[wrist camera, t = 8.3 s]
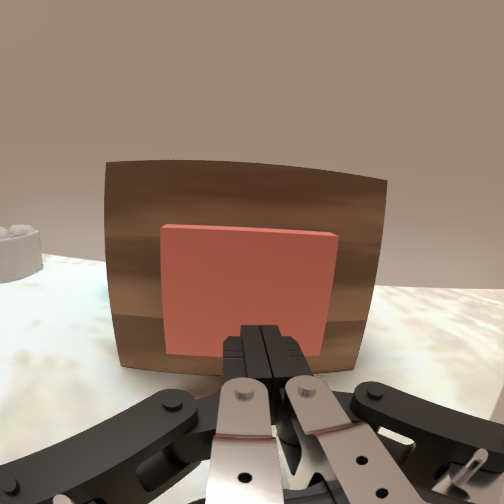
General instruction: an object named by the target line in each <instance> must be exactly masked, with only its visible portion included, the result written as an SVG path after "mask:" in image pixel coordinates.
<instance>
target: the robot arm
mask: <svg viewBox="0 0 504 504" xmlns="http://www.w3.org/2000/svg"><path fill="white" fill-rule="evenodd" d="M271 425H276V429H277V433H276V438H275V437H272V430H271ZM380 427H384V428H386V429H388V430H391V431H393V432H395V433H398V434H400V435H403V436H405V437H408V438H410V439H412V440H413V441H414V443H413V444H411V445H405V444H402V443H399V442H397V441H395V440H392V439H390V438H387V437H385V436H383V435H381V434H378V431H379V429H380ZM278 451H279V454H280V457H281V460H282V463H283V466H284V469H285V472H286V475H287V478H288V482H289V490H288V489H282V481H281V472H280V464H279V455H278ZM208 459H210V468H209V477H208V486H207V495H206V498H203V499H199V500H197V501H194V502H191V503H189V504H498V503H499V499H500V495H501V491H502V487H503V481H504V425H503V424H499V423H495V422H492V421H488V420H485V419H481V418H478V417H475V416H471V415H468V414H465V413H462V412H459V411H455V410H452V409H449V408H446V407H443V406H441V405H438V404H435V403H432V402H429V401H426V400H424V399H421V398H418V397H416V396H413V395H410V394H408V393H405V392H402V391H400V390H397V389H395V388H392V387H390V386H387V385H385V384H382V383H379V382H373V381H369V382H363V383H361V384H359V385H358V386H357V387H356V388H355V390H354V393H346V392H336V391H331V390H330V388H329V387H328V385H327V384H326V383H325V382H324V381H323V380H321V379H319V378H317V377H314V375H313V373H312V371H311V369H310V367H309V365H308V363H307V360H306V358H305V357H304V354H303V352H302V351H301V348H300V346H299V343H298V342H297V341H296V340H294V339H293V338H292V337H291V336H282V335H281V332H280V330H279V327H278V325H260V326H259V325H241V328H240V336H228V337H227V338H226V339H225V341H224V342H223V385H222V388H221V389H220V390H219V391H218V392H217V393H216V394H214V395H212V396H210V397H206V398H201V399H196V400H195V398H194V397H193V396H192V395H191V394H189V393H188V392H185V391H183V390H178V389H166V390H162V391H159V392H157V393H155V394H153V395H152V396H150V397H148V398H146V399H145V400H143V401H141V402H139V403H137V404H136V405H134V406H132V407H130V408H128V409H126V410H124V411H123V412H121V413H119V414H117V415H115V416H113V417H111V418H109V419H107V420H105V421H103V422H101V423H99V424H97V425H95V426H93V427H91V428H89V429H87V430H85V431H83V432H81V433H79V434H77V435H75V436H72V437H70V438H68V439H66V440H64V441H61V442H59V443H57V444H55V445H52V446H50V447H48V448H45V449H43V450H40V451H38V452H35V453H33V454H30V455H28V456H25V457H23V458H20V459H17V460H15V461H12V462H9V463H6V464H3V465H1V466H0V504H148V503H150V502H151V501H153V500H154V499H155V498H157V497H158V496H160V495H161V494H163V493H164V492H165V491H167V490H168V489H169V488H171V487H172V486H173V485H175V484H176V483H177V482H179V481H180V480H181V479H183V478H184V477H185V476H186V475H188V474H189V473H190V472H191V471H193V470H194V469H195V468H196V467H197V466H199V465H200V463H201V461H203V460H208Z"/></svg>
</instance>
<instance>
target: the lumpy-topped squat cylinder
mask: <svg viewBox="0 0 504 504" xmlns="http://www.w3.org/2000/svg"><path fill="white" fill-rule="evenodd" d="M42 268H43V263H42V254H41V244H40V232H39V230H34V229H33V228H32V227H31V226H29V225H13V226H11V227H10V228H9V229H8V230H7V229H5V228H4V227H0V283H6V282H11V281H15V280H19V279H22V278H25V277H27V276H30V275H32V274H34V273H36V272H38V271H40V270H41V269H42Z"/></svg>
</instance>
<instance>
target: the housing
mask: <svg viewBox="0 0 504 504" xmlns="http://www.w3.org/2000/svg"><path fill="white" fill-rule="evenodd" d="M386 193H387V180H382V179H376V178H371V177H365V176H360V175H354V174H347V173H341V172H333V171H327V170H319V169H310V168H302V167H294V166H284V165H273V164H261V163H247V162H230V161H203V160H147V161H120V162H106V173H105V196H104V229H105V230H104V231H105V255H106V269H107V281H108V291H109V299H110V307H111V314H112V321H113V327H114V333H115V339H116V344H117V350H118V355H119V359H120V364H121V366H125V367H132V368H139V369H146V370H154V371H163V372H173V373H185V374H200V375H221V376H223V357H208V356H191V355H177V354H166V344H165V334H164V321H163V307H162V288H161V251H160V227H162V226H164V225H166V224H177V225H205V226H229V227H249V228H268V229H286V230H302V231H317V232H330V233H332V234H335V235H337V236H339V240H338V248H337V256H336V264H335V271H334V278H333V284H332V291H331V297H330V303H329V309H328V315H327V320H326V325H325V331H324V336H323V341H322V346H321V350H320V355H319V356H304V357H305V358H306V360H307V363H308V365H309V367H310V369H311V371H312V373H325V372H335V371H344V370H352V369H354V366H355V363H356V360H357V356H358V353H359V349H360V345H361V342H362V338H363V334H364V330H365V326H366V322H367V318H368V313H369V309H370V304H371V300H372V295H373V290H374V285H375V279H376V273H377V268H378V261H379V255H380V249H381V241H382V234H383V225H384V216H385V206H386Z"/></svg>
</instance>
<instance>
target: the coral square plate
mask: <svg viewBox="0 0 504 504" xmlns="http://www.w3.org/2000/svg"><path fill="white" fill-rule="evenodd" d="M338 240H339V236H337V235H335V234H332V233H330V232H317V231H302V230H286V229H268V228H249V227H229V226H205V225H177V224H166V225H164V226H162V227H160V251H161V288H162V307H163V321H164V334H165V344H166V354H177V355H191V356H208V357H223V342H224V341H225V339H226V338H227V337H228V336H240V328H241V325H259V326H260V325H278V327H279V330H280V332H281V335H282V336H291V337H292V338H293V339H294V340H296V341H297V342H298V343H299V346H300V348H301V351H302V352H303V354H304V356H319V355H320V350H321V346H322V341H323V336H324V331H325V325H326V320H327V315H328V309H329V303H330V297H331V291H332V284H333V278H334V271H335V264H336V256H337V248H338Z"/></svg>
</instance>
